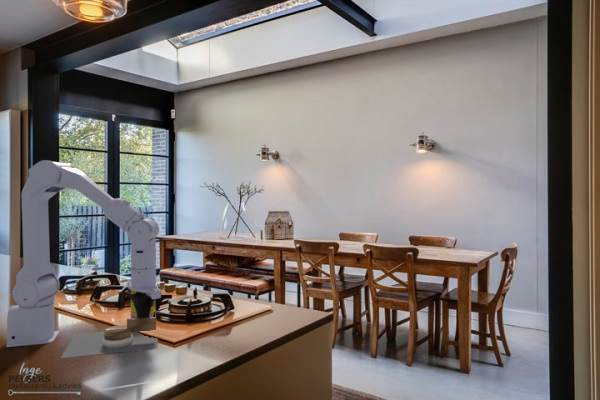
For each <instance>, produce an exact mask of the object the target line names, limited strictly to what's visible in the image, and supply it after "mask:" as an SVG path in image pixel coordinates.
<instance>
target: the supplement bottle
mask: <svg viewBox="0 0 600 400" xmlns="http://www.w3.org/2000/svg"><path fill="white" fill-rule="evenodd" d="M135 293H136V291H132V290H130V295H131V294H135ZM156 300H157V299H155V301H154V303H153V305H152V307H151V311H150V315H149V317H153V315H154V312H155V313H156ZM133 318H137V313H136V309H135V306H134V304H133V302H132V300H131V299H130V319H133Z"/></svg>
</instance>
